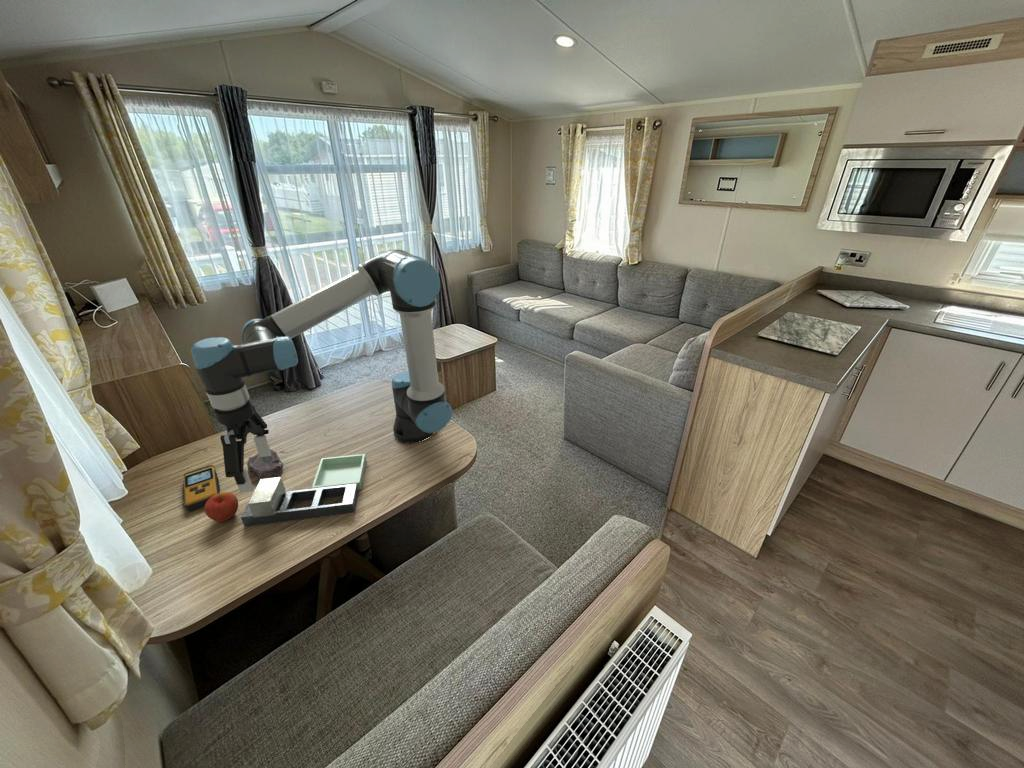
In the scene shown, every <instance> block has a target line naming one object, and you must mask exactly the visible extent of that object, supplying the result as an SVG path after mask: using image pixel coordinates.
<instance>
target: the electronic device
mask: <svg viewBox="0 0 1024 768" xmlns="http://www.w3.org/2000/svg"><path fill="white" fill-rule="evenodd" d="M219 480H220V479H219V477H218V473H217V471H216V468H215V465H213V464H212V465H211V464H210V465H206V466H203V467H201V468H196V469H195V470H194V469H193V470H191V471H187V472H186V473H184V474H183V482H182V483H183V487H182V492H183V493H182V494H183V505H184V509H185V511H187V512H189V513H190V512H193V511H196V510H198V509H201V508H204V507H205V504H206V502H207V501H208V500H209V499H210V498H211V497H212V496H214V495H216V494H218V493H221V492H220V491H221V489H220V488H221V487H220V481H219Z"/></svg>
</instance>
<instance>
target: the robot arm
mask: <svg viewBox="0 0 1024 768" xmlns="http://www.w3.org/2000/svg"><path fill="white" fill-rule="evenodd" d="M440 290H441V279H440V276H439V273H438V271H437V269H436V268H435V267H434V266H433V265H432V264H431V263H430V262H429V261H427V260H426V259H424V258H422V257H421V256H418V255H414V254H412V253H409V252H408V251H406V250H402V249H389V250H387V251H384V252H381V253H379V254H377V255H375V256H373V257H371V258H370V259H369V258H368V259H367V260H365V261H364V262H362V263H359V264H358V265H357V269H356V270H355V271H353V272H351V273H348V274H347V275H346V276H344V277H341V278H339V279H338V280H336V281H334V282H332V283H330V284H327V285H326V286H323V287H322V288H320V289H319V290H317V291H315V292H313V293H311V294H309V295H307V296H305V297H303V298H302V299H300V300H297V301H296V302H294V303H292V304H290V305H288V306H286V307H284V308H282V309H280V310H278V311H277V312H274V313H273V314H270V315H268V316H266V317H265V318H253V319H250V320H248V321H247V322H245V324H244V325H243V327H242V328H241V338H242V342H243V344H242V343H241V344H233V343H232V342H231V340H230V339H229V338H226V337H223V336H222V337H221V336H220V337H207V338H204V339H201V340H198V341H196V342H195V343H193V345H191V348H190V354H191V356H192V360H193V363H194V366H195V367H194V368H195V369H196V371H197V374H198V376H199V379H200V382H201V383H202V387H203V388H204V390H205V394H206V396H207V397H208V399H209V402H210V405H211V407H212V411H213V413H214V417H215V419H216V421H217V423H219V424H220V425H223V426H224V427H226V434H223V435H220V442H221V445H222V453H223V462H224V470H225V471H224V474H225V478H234V481H235V484H236V486H237V488H238V490H239V493H241V494H242V493H250V492H251V493H254V491H255V488H254V486H253V484H252V481H251V479H250V475H249V474H248V471H247V469H246V468H244V465H245V464H244V463H245V445H246V444H247V436H248V435H249V433H250V434H252V435H254V436H253V438H252V439H253V442H254V444H255V447H256V450H257V452H258V453H259V456H260V457H267V456H271V455H272V454H271V451H270V449H271V448H270V445H269V443H268V439H267V436H266V435H268V434H269V429H268V424H267V423H266V422H265V420H264V419H263V418H262V416H260V414H259V413H258V412H257V410H256V407H255V406H254V405H253V403H252V401H251V399H250V393H249V391H248V388H247V385H246V383H245V380H244V378H247V377H248V378H249V377H252V376H256V375H257V376H258V375H261V374H267V373H272V372H277V371H284V370H286V369H288V368H292V367H296V366H297V364H298V363H299V358H298V354H297V350H296V347H295V344H294V341H293V340H292V339H293V338H295V337H297V336H299V335H301V334H303V333H305V332H307V331H308V330H310V329H312V328H314V327H316V326H317V325H319V324H321V323H323V322H325V321H327V320H328V319H330V318H332V317H334V316H335V315H338V314H339V313H341V312H343V311H345V310H347V309H349V308H351V307H352V306H355V305H356V304H358V303H360V302H361V301H363V300H365V299H367V298H368V297H371V296H375V297H379V296H380V295H382V294H385V293H387V292H388V293H390V298H391V306H392V309H393V311H395V312H396V313H398V314H399V319H400V325H401V331H402V338H403V339H402V340H403V345H404V350H405V358H406V364H407V371H402V372H399V373H397V374H396V375H395V376H393V377H392V379H391V388H392V394H393V396H392V397H393V401H394V409H395V414H396V415H395V419H394V422H393V423H394V424H393V428H392V429H393V435H394V437H395V439H397V440H398V441H400V442H401V443H405V442H409V443H408V444H412V443H411V442H418V443H420V442H419V441H422V440H424V439H426V438H428V437H430V436H431V435H432V434H433V433H434V432H435V433H437V432H439V431H441V430H443V429H444V428H445V427H446V426H447V425H448V423H450V421H451V420H452V417H453V408H452V407H451V404H450V402H449V403H448V402H447V400H446V392H445V391H446V390H445V385H444V384H442V383H441V382H439V381H440V380H439V373H438V362H437V354H436V344H435V337H434V329H433V328H434V327H433V320H432V310H433V309H434V308H435V307H436V305H437V304H436V299H437V296H438V295H439V293H440ZM422 442H423V441H422Z"/></svg>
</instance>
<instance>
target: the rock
mask: <svg viewBox="0 0 1024 768" xmlns="http://www.w3.org/2000/svg"><path fill="white" fill-rule="evenodd" d="M270 451H271V454H272V455H271V456H267V457H260V456H259V453H256V454H255V455H253V456H249V457H248V458H247V459H248V460H247V464H246V466H247V470H248V471H250V472H251V471H252V472H254V473H255V474H256V475H257V476H258V477H259V478H261V479H266V478H271V477H276V476H279V475H280V474H281V473H282V470H283V468H284V463H283V462H282V460H281V459H280V457H279V456H278V453H277V451H274V450H273V449H271V448H270Z"/></svg>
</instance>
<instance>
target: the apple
mask: <svg viewBox="0 0 1024 768" xmlns="http://www.w3.org/2000/svg"><path fill="white" fill-rule="evenodd" d="M203 508H204V509H203V510H204V513H205V514H206V516H207V517H208V518H209V519H211V520H212V521H215V522H225V521H227V520H229V519H231V518H233V517H234V516H235V515H236V513H237V512H238V508H239V499H238V497H237V496H236V495H235V494H234V493H232V492H231V491H230V492H229V491H222V492H220V493H218V494H216V495H214V496H212V497H211V498H210V499H209V500H208V501H207V502H206V504H205V506H204V507H203Z"/></svg>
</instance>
